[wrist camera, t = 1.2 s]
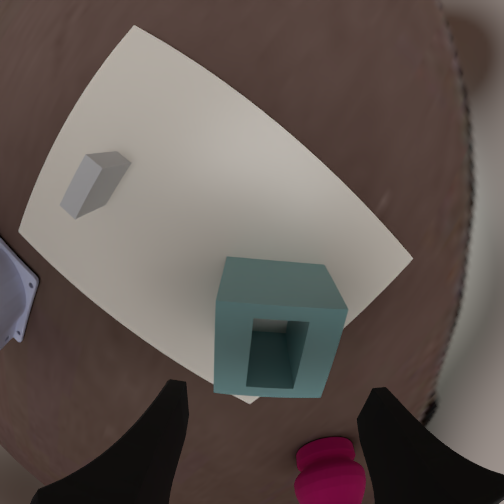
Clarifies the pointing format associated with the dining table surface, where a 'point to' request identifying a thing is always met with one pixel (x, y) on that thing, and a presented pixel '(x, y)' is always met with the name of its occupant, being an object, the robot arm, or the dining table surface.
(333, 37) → the dining table surface
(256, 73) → the dining table surface
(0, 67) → the dining table surface
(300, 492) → the pepper mill
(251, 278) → the teal square tube
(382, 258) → the key plate
